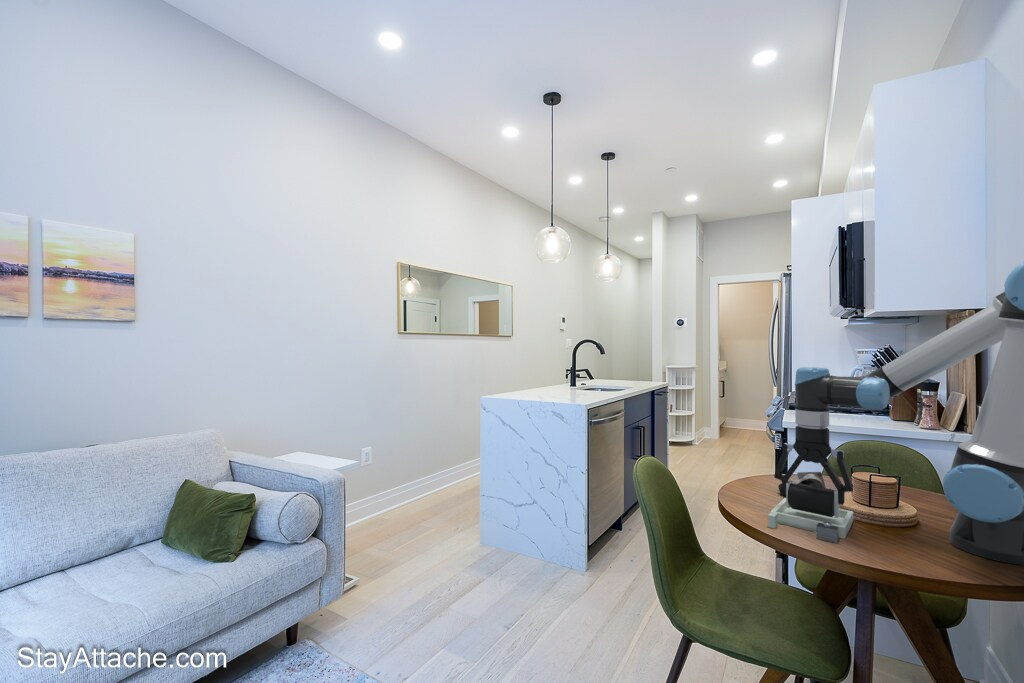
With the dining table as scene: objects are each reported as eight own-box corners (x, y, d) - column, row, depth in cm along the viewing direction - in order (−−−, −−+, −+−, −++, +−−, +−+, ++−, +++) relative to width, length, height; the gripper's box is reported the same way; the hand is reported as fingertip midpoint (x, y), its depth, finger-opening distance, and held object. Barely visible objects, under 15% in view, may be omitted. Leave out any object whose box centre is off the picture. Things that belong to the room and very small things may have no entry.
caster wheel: (779, 504, 144) (787, 492, 151) (821, 505, 136) (827, 492, 144) (773, 483, 144) (781, 472, 152) (814, 483, 137) (821, 471, 144)
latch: (838, 539, 112) (838, 523, 112) (836, 543, 110) (836, 527, 110) (818, 534, 115) (818, 519, 115) (816, 538, 112) (816, 522, 112)
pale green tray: (853, 521, 123) (853, 510, 123) (841, 544, 109) (841, 531, 109) (784, 507, 134) (784, 496, 134) (765, 526, 120) (765, 514, 120)
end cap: (787, 511, 124) (787, 485, 124) (794, 504, 129) (794, 480, 129) (832, 521, 117) (832, 494, 117) (837, 514, 122) (837, 487, 122)
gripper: (867, 429, 119) (867, 518, 118) (768, 419, 134) (768, 498, 134) (863, 433, 113) (864, 526, 113) (760, 423, 128) (760, 504, 128)
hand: (812, 511), depth 123 cm, fingers closed on end cap, 10 cm apart
